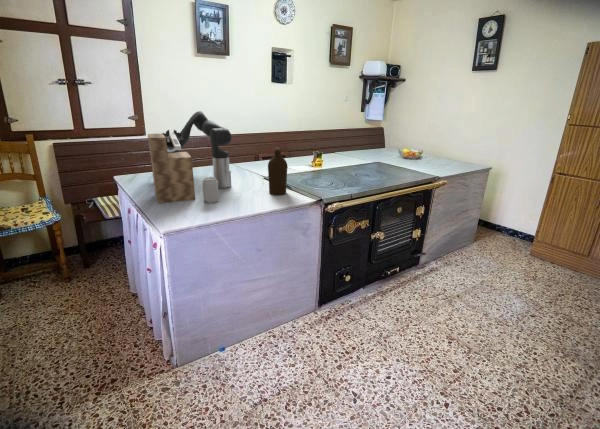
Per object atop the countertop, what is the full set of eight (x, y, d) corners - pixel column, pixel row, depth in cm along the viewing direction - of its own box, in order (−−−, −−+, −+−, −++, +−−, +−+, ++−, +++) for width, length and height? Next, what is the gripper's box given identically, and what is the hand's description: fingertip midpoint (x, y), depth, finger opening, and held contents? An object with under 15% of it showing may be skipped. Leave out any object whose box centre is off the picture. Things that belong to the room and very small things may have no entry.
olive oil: (275, 196, 184) (275, 150, 176) (264, 192, 192) (263, 147, 183) (291, 193, 191) (291, 148, 182) (279, 189, 198) (279, 145, 190)
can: (204, 203, 171) (202, 180, 167) (203, 199, 178) (202, 176, 174) (219, 203, 173) (218, 179, 169) (218, 198, 180) (217, 176, 175)
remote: (173, 134, 186) (173, 130, 185) (181, 149, 166) (180, 145, 165) (168, 134, 185) (168, 130, 184) (175, 150, 165) (175, 145, 164)
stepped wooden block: (190, 191, 191) (184, 132, 180) (195, 199, 177) (189, 136, 166) (155, 194, 183) (147, 133, 172) (158, 203, 170) (149, 138, 159)
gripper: (183, 149, 199) (186, 137, 183) (158, 150, 193) (158, 138, 177) (181, 136, 199) (184, 124, 184) (156, 137, 194) (156, 125, 178)
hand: (171, 131), depth 181 cm, fingers closed on remote, 2 cm apart
